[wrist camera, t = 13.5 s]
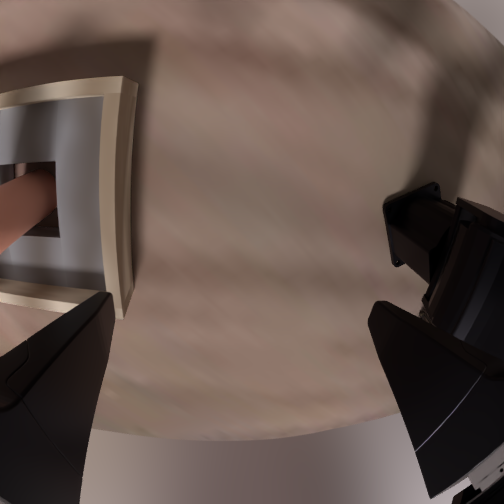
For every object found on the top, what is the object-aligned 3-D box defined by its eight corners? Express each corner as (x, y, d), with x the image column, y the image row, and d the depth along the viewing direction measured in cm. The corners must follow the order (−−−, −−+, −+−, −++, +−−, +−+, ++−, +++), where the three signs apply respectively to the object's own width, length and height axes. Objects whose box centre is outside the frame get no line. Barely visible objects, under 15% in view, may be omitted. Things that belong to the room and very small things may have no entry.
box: (-8, 273, 20) (-29, 295, 16) (-24, 107, 13) (-53, 110, 10) (133, 290, 23) (123, 319, 19) (138, 83, 16) (122, 75, 13)
